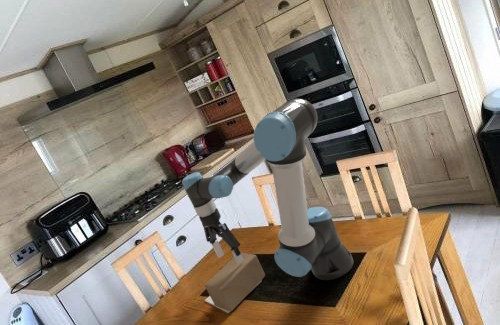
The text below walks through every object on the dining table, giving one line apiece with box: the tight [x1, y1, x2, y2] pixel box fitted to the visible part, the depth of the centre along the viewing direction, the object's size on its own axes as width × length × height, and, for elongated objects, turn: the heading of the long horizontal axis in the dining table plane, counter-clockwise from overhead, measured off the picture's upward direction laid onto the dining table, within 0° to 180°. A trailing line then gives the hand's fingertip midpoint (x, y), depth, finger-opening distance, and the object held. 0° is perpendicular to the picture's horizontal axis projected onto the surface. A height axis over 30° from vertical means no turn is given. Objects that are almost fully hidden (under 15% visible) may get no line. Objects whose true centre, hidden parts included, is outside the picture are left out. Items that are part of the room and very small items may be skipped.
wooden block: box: [204, 252, 266, 312], centre depth 140 cm, size 10×10×20 cm
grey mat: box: [204, 279, 263, 314], centre depth 144 cm, size 16×18×1 cm
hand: (230, 259), depth 144 cm, fingers open, 13 cm apart
